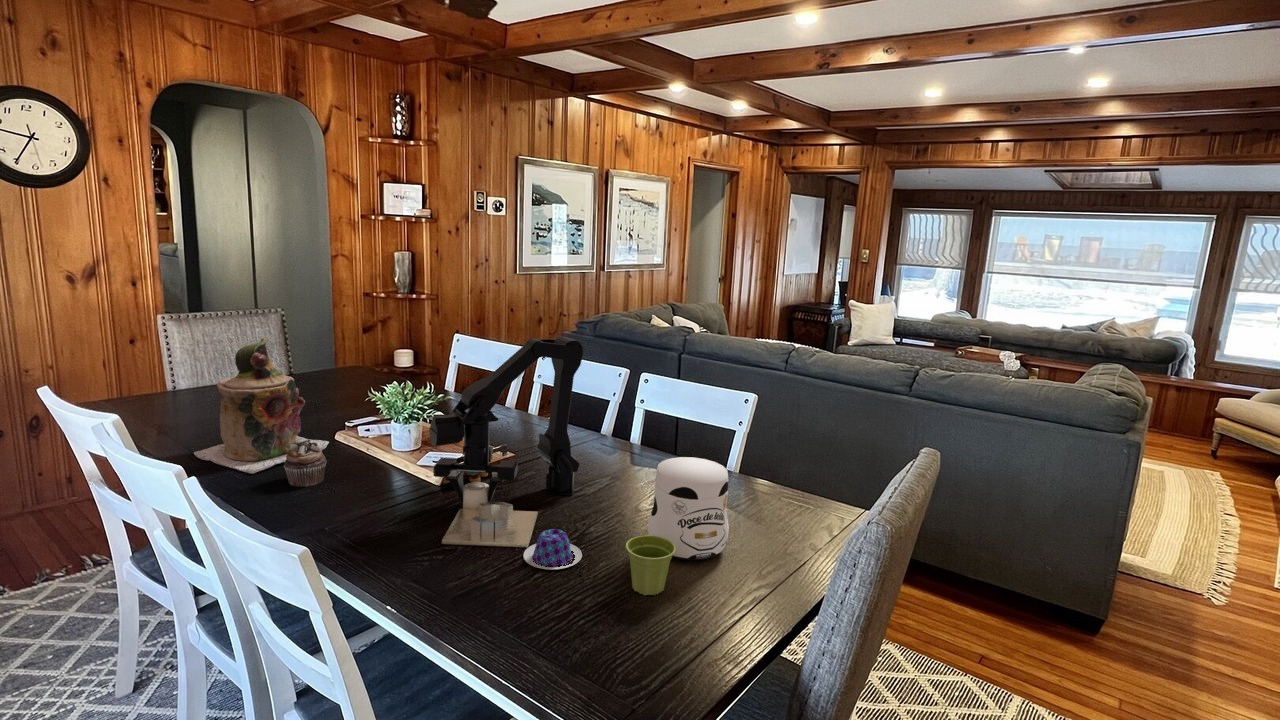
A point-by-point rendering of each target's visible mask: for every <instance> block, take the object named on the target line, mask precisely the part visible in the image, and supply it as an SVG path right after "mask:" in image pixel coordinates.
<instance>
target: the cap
mask: <svg viewBox="0 0 1280 720" xmlns="http://www.w3.org/2000/svg"><path fill="white" fill-rule="evenodd" d="M463 485H464V487H463V503H462V504H463V505H462V508H466V509H479V503H485V502H488V493H489V483H485V482H470V483H466V484H463Z"/></svg>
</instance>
